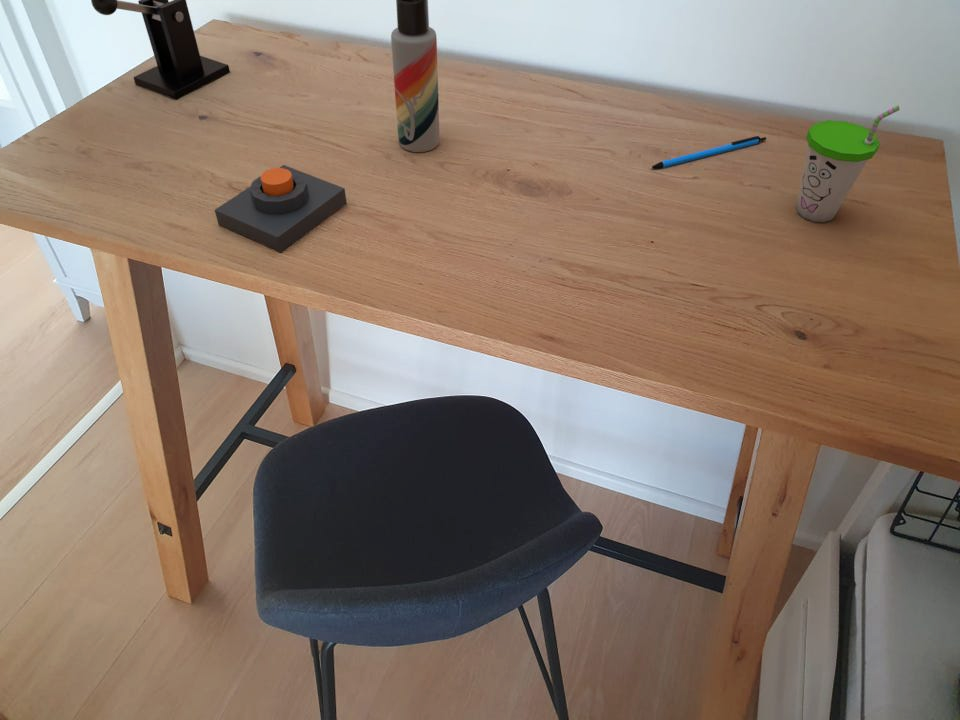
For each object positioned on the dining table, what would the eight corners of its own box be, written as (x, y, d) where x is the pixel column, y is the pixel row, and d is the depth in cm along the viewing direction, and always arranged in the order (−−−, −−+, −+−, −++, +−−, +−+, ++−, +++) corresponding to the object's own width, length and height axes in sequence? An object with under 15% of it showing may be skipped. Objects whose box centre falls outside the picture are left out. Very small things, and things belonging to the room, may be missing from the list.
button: (279, 200, 89) (276, 187, 88) (256, 191, 91) (253, 178, 90) (300, 186, 92) (298, 173, 90) (277, 177, 93) (275, 164, 92)
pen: (766, 142, 107) (768, 135, 106) (651, 172, 102) (653, 165, 101) (762, 139, 108) (764, 132, 107) (648, 168, 102) (649, 161, 101)
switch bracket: (176, 99, 114) (153, 19, 106) (135, 84, 117) (109, 5, 109) (230, 72, 121) (212, -6, 112) (189, 58, 124) (169, -19, 116)
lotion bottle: (393, 150, 105) (381, -2, 90) (405, 129, 108) (396, -19, 94) (433, 155, 104) (427, 3, 89) (444, 135, 108) (440, -15, 93)
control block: (280, 252, 88) (274, 224, 85) (218, 225, 92) (210, 196, 89) (346, 203, 95) (343, 175, 93) (286, 179, 99) (281, 151, 96)
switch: (101, 15, 102) (102, -11, 101) (85, 10, 103) (86, -15, 102) (179, 27, 113) (181, 4, 112) (164, 22, 114) (166, -1, 113)
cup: (769, 207, 96) (806, 93, 85) (809, 188, 99) (850, 76, 88) (820, 238, 91) (867, 122, 81) (861, 217, 94) (911, 102, 84)
